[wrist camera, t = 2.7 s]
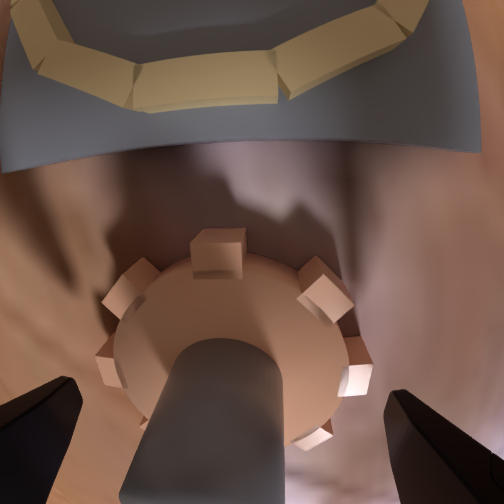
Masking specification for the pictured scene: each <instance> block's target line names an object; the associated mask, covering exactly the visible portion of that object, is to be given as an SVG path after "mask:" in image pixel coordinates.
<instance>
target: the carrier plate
mask: <svg viewBox="0 0 504 504" xmlns="http://www.w3.org/2000/svg"><path fill="white" fill-rule="evenodd" d="M10 6H12V7H13V8H12V9H11V10H10V14H11V16H12V17H11V22H10V27H9V32H8V38H7V44H6V51H5V58H4V66H3V75H2V87H1V103H0V158H1V174H3V173H9V172H15V171H21V170H26V169H31V168H35V167H40V166H44V165H49V164H54V163H59V162H64V161H69V160H75V159H80V158H86V157H92V156H98V155H104V154H111V153H117V152H125V151H132V150H140V149H148V148H157V147H167V146H177V145H188V144H201V143H216V142H235V141H263V140H322V141H350V142H368V143H383V144H395V145H406V146H416V147H425V148H434V149H442V150H449V151H456V152H470V153H481V124H480V107H479V94H478V85H477V76H476V68H475V62H474V55H473V49H472V44H471V38H470V33H469V28H468V24H467V19H466V15H465V11H464V7H463V3H462V0H11V3H10Z"/></svg>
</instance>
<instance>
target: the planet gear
mask: <svg viewBox="0 0 504 504" xmlns="http://www.w3.org/2000/svg"><path fill="white" fill-rule="evenodd" d="M190 252H191V257H188V258H186V259H183V260H180V261H178V262H176V263H174V264H173V265H171V266H169V267H167V268H166V269H164V270H163V271H162V272H160V271H159V270H157V269H156V268H155V267H154V266H153V265H152V264H151V263H150V262H149V261H148V260H147V259H145V258H144V257H142V258H141V259H139V260H138V261H137V262H136V263H135V264H134V265H132V266H131V267H130V268H129V269H128V270H127V271H126V272H124V273H123V274H122V275H121V277H120V278H119V279H118V281H117V282H116V283H115V285H114V286H113V287H112V289H111V290H110V291H109V293H108V294H107V296H106V297H105V298H104V300H103V301H102V302H101V303H102V304H104V305H105V306H106V307H107V308H108V309H109V310H110V311H111V312H112V313H113V314H114V315H116V316H117V317H118V318H119V319H120V322H119V324H118V326H117V329H116V333H115V332H114V333H113V334H112V335H111V336H110V338H109V339H108V340H107V341H106V343H105V344H104V345H103V346H102V348H101V349H100V350H99V351H98V353H97V354H96V355H95V358H96V361H97V364H98V367H99V370H100V373H101V376H102V379H103V381H104V384H105V385H108V386H114V387H120V388H123V389H124V391H125V392H126V394H127V396H128V397H129V399H130V400H131V401H132V403H133V404H134V405H135V406H136V408H137V409H138V410H139V411H140V412H141V413H142V414H143V415H144V417H143V419H142V422H141V424H140V426H139V427H140V428H141V429H143V430H144V431H145V432H144V434H143V436H142V439H141V441H140V444H139V446H138V448H137V451H136V453H135V456H134V458H133V460H132V463H131V465H130V468H129V470H128V472H127V475H126V477H125V480H124V482H123V485H122V487H121V490H120V492H119V500H120V502H121V504H285V457H284V447H285V446H288V445H291V444H294V445H296V446H298V447H299V448H301V449H303V450H305V451H308V450H309V449H311V448H313V447H315V446H317V445H318V444H320V443H322V442H323V441H325V440H327V439H329V438H330V437H332V436H333V431H332V425H331V420H330V417H331V416H332V415H333V414H334V413H335V411H336V410H337V408H338V407H339V405H340V404H341V401H342V399H343V397H344V396H354V395H365V394H366V393H367V389H368V385H369V380H370V376H371V371H372V367H373V362H372V360H371V358H370V355H369V353H368V351H367V348H366V346H365V344H364V341H363V339H362V337H361V336H359V337H343V336H342V334H341V331H340V328H339V325H338V322H337V320H338V319H339V318H341V317H342V316H343V315H344V314H345V313H346V312H347V311H349V310H350V309H351V308H352V307H353V306H354V305H355V304H354V302H353V300H352V298H351V296H350V295H349V293H348V291H347V289H346V287H345V285H344V283H343V282H342V281H341V280H340V278H339V277H338V276H337V275H336V274H335V273H334V272H333V271H332V270H331V269H330V268H329V267H328V266H327V265H326V264H325V263H324V262H323V261H322V260H321V259H319V258H318V257H317V256H316V255H315V256H314V257H313V258H311V259H310V260H309V261H308V262H307V263H306V264H305V265H304V266H303V267H302V268H301V269H300V270H299V271H298V272H297V271H295V270H294V269H292V268H290V267H289V266H287V265H285V264H282V263H280V262H278V261H276V260H274V259H270V258H267V257H264V256H261V255H257V254H252V253H247V240H246V228H213V229H202V230H201V231H200V233H199V234H198V235H197V236H196V237H195V238H194V239H193V240H192V241H191V243H190Z"/></svg>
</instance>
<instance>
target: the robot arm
mask: <svg viewBox="0 0 504 504" xmlns="http://www.w3.org/2000/svg"><path fill="white" fill-rule="evenodd" d="M82 404H83V399H82V396H81V393H80V391H79V389H78V386H77V384H76V381H75V380H74V379H73V378H71V377H67V376H60V377H58V378H56V379H54V380H52V381H50V382H48V383H46V384H44V385H42V386H40V387H38V388H36V389H34V390H32V391H30V392H27V393H25V394H23V395H21V396H19V397H17V398H15V399H13V400H11V401H9V402H7V403H5V404H2V405H0V504H46V502H47V499H48V496H49V494H50V491H51V488H52V486H53V483H54V481H55V478H56V476H57V473H58V471H59V468H60V466H61V464H62V461H63V459H64V456H65V454H66V452H67V449H68V447H69V444H70V442H71V439H72V436H73V432H74V429H75V426H76V423H77V420H78V417H79V414H80V411H81V408H82ZM383 417H384V424H385V430H386V437H387V443H388V450H389V457H390V463H391V467H392V472H393V475H394V479H395V483H396V487H397V491H398V494H399V498H400V503H401V504H504V460H503V459H501V458H500V457H499V456H497V455H496V454H494V453H492V452H491V451H490V450H489V449H487V448H486V447H484V446H483V445H482V444H480V443H479V442H477V441H476V440H475V439H473V438H472V437H470V436H469V435H468V434H466V433H465V432H463V431H462V430H461V429H459V428H458V427H457V426H455V425H454V424H452V423H451V422H450V421H448V420H447V419H445V418H444V417H443V416H441V415H440V414H439V413H437V412H436V411H435V410H433V409H432V408H430V407H429V406H428V405H426V404H425V403H424V402H422V401H421V400H420V399H418V398H417V397H415V396H414V395H413V394H411V393H410V392H409V391H407V390H405V389H400V390H393V391H391V392H390V394H389V397H388V400H387V403H386V407H385V410H384V416H383Z"/></svg>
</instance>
